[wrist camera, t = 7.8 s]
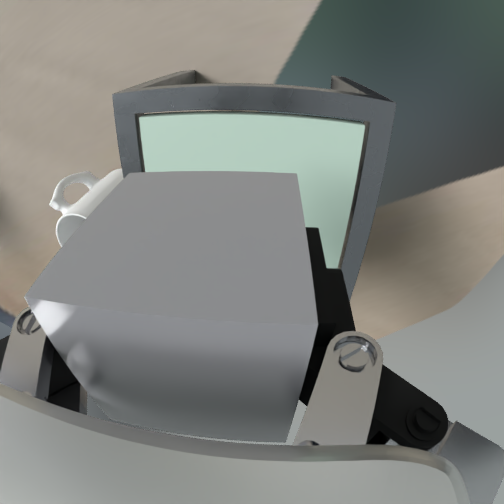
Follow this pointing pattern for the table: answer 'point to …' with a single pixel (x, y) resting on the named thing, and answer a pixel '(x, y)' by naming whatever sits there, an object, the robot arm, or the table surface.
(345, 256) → the stand
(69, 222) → the mug
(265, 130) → the trapdoor
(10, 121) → the table surface
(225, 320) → the grey cube
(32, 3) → the table surface
